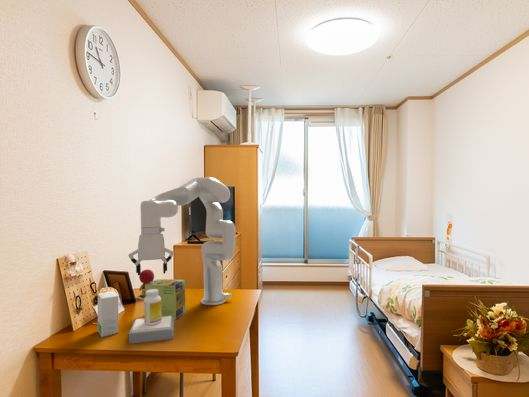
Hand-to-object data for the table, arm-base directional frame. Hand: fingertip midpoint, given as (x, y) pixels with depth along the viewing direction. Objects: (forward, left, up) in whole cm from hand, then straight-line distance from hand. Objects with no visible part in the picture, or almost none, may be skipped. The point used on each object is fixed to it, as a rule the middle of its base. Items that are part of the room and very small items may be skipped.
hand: (152, 273), depth 133 cm
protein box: (-4, -21, -25) cm, 32 cm away
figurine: (+8, -53, -24) cm, 59 cm away
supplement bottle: (0, 0, -20) cm, 20 cm away
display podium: (0, 0, -24) cm, 24 cm away
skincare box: (+18, -7, -24) cm, 31 cm away
